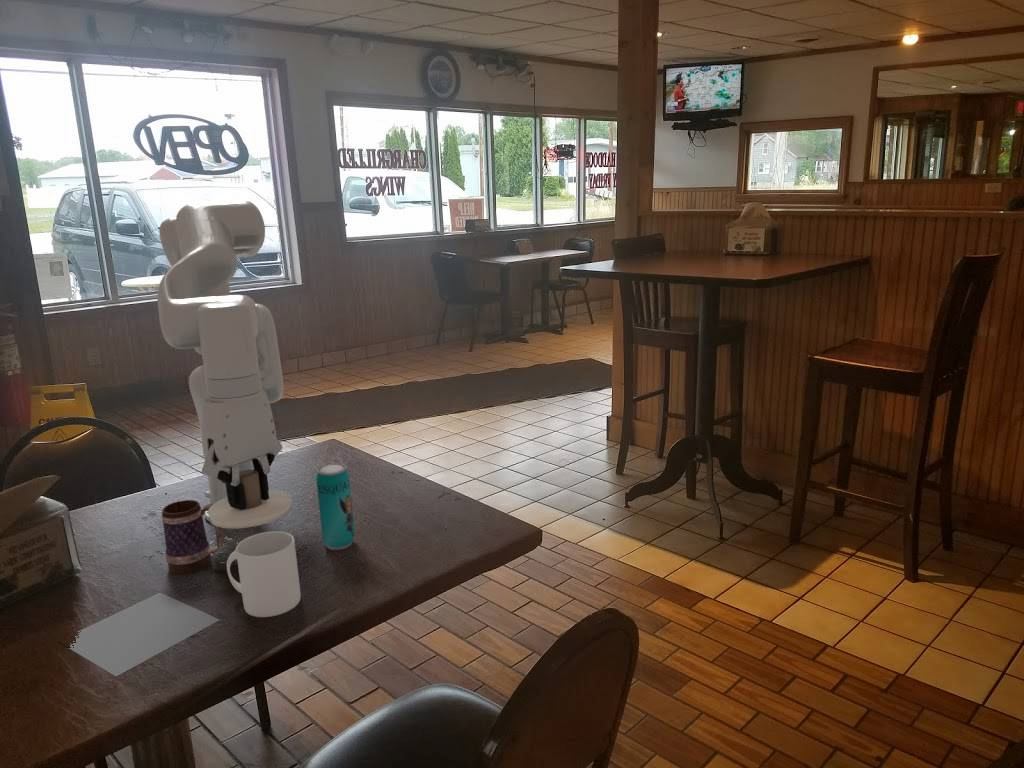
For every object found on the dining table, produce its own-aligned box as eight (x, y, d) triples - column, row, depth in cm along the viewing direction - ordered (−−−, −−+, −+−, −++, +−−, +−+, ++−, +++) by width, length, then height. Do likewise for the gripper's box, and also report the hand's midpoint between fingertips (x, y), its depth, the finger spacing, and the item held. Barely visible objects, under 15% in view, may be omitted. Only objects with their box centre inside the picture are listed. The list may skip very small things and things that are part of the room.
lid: (192, 518, 112) (186, 479, 111) (258, 491, 122) (253, 456, 120) (243, 534, 105) (237, 494, 104) (308, 505, 115) (304, 467, 114)
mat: (58, 644, 109) (57, 641, 108) (160, 595, 121) (160, 592, 121) (116, 680, 100) (116, 676, 100) (220, 623, 113) (220, 619, 112)
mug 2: (248, 586, 123) (240, 526, 121) (312, 595, 120) (305, 534, 117) (214, 613, 115) (204, 550, 113) (280, 624, 112) (272, 559, 109)
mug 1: (160, 577, 127) (149, 512, 125) (182, 558, 134) (173, 496, 131) (216, 579, 126) (206, 513, 123) (236, 559, 133) (227, 496, 130)
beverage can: (347, 552, 134) (339, 474, 130) (318, 550, 135) (309, 473, 131) (360, 538, 139) (353, 463, 136) (331, 537, 140) (323, 462, 137)
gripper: (264, 372, 118) (277, 481, 122) (167, 396, 104) (186, 517, 109) (295, 376, 114) (308, 489, 118) (198, 402, 100) (217, 528, 105)
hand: (249, 501), depth 113 cm, fingers closed on lid, 3 cm apart
